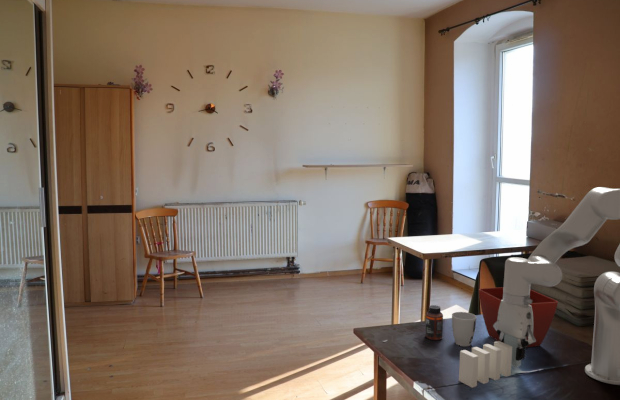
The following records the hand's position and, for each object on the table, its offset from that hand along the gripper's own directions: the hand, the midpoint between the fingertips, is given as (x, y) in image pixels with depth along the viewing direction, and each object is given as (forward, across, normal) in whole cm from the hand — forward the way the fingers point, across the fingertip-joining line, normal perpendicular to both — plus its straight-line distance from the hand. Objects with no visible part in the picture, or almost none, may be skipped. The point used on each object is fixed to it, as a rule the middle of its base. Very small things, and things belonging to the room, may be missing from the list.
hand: (512, 355), depth 156 cm
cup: (+5, +22, -2) cm, 22 cm away
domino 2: (+5, 0, +14) cm, 15 cm away
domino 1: (+5, 0, +19) cm, 20 cm away
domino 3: (+5, 0, +9) cm, 10 cm away
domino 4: (+5, 0, +5) cm, 6 cm away
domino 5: (+3, 0, 0) cm, 3 cm away
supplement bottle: (+5, +31, +3) cm, 31 cm away
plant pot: (+5, +15, -20) cm, 25 cm away
